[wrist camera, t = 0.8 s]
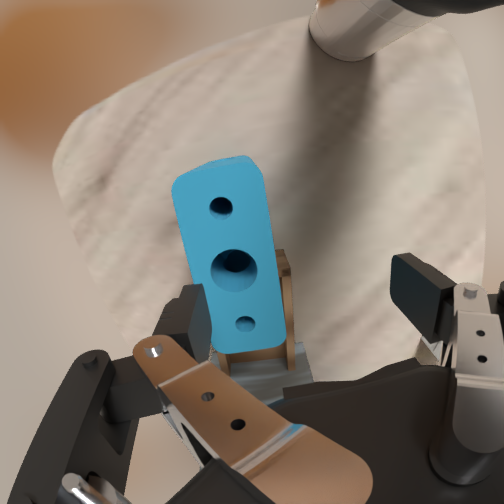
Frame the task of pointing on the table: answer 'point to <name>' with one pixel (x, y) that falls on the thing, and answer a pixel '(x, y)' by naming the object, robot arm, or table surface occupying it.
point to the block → (232, 252)
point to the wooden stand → (270, 354)
